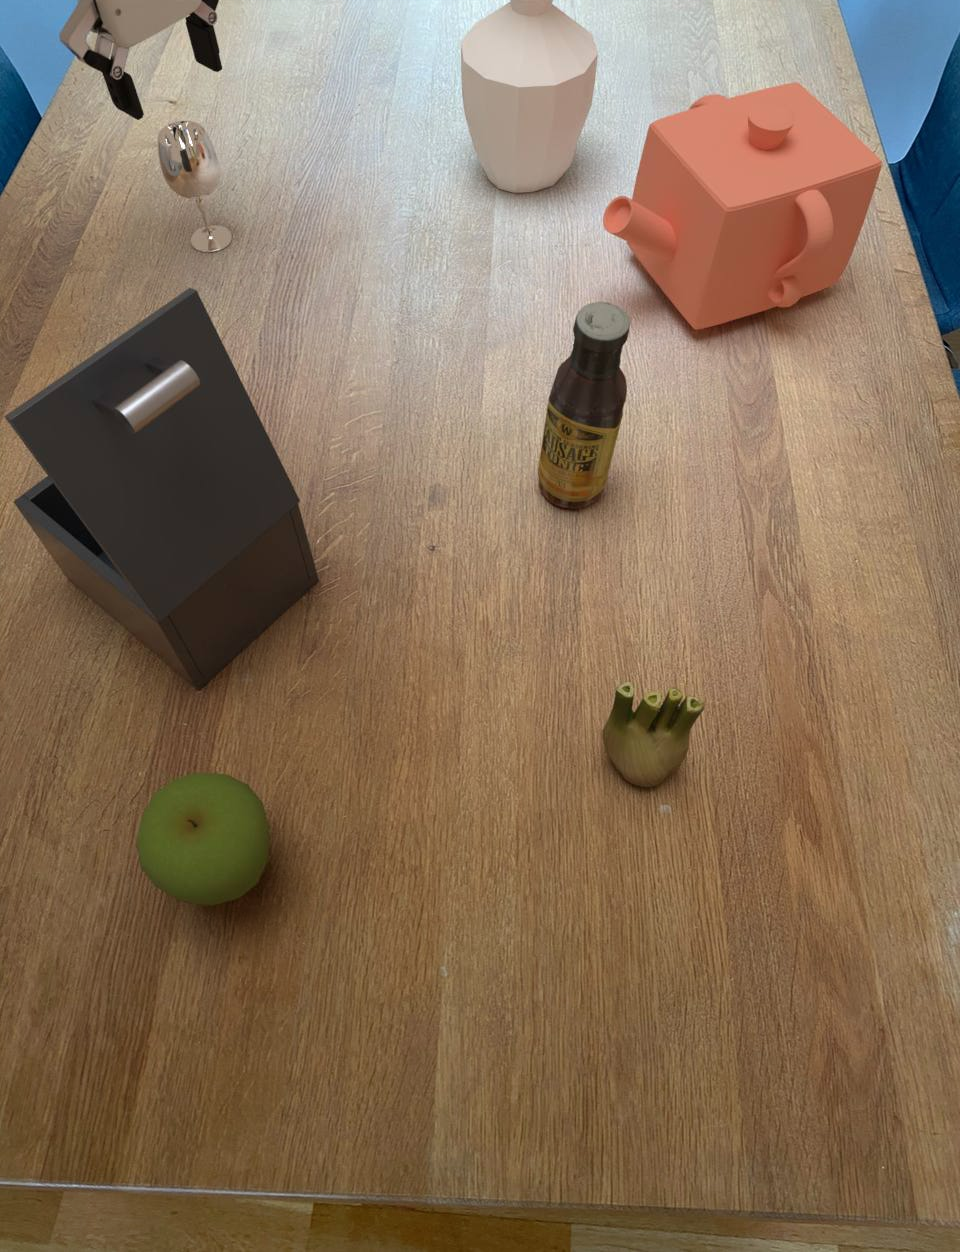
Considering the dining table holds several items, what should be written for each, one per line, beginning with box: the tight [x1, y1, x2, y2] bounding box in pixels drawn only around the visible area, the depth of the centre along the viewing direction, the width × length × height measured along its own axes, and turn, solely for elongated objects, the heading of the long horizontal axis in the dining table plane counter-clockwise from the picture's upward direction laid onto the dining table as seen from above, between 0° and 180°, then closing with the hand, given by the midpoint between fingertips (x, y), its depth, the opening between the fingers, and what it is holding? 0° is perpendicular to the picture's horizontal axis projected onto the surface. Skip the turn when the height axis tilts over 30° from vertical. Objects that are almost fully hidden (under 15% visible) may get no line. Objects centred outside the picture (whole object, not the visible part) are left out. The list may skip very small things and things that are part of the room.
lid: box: [4, 287, 301, 622], centre depth 61 cm, size 18×14×5 cm
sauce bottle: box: [537, 301, 631, 510], centre depth 77 cm, size 7×6×20 cm
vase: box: [460, 0, 599, 194], centre depth 98 cm, size 14×14×25 cm
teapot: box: [602, 81, 883, 330], centre depth 92 cm, size 25×23×18 cm
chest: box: [13, 475, 320, 692], centre depth 76 cm, size 17×14×11 cm
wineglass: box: [157, 120, 233, 253], centre depth 98 cm, size 6×6×12 cm
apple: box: [136, 772, 271, 906], centre depth 63 cm, size 9×8×12 cm
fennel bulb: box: [601, 681, 705, 788], centre depth 68 cm, size 6×5×12 cm
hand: (171, 89), depth 89 cm, fingers open, 9 cm apart
